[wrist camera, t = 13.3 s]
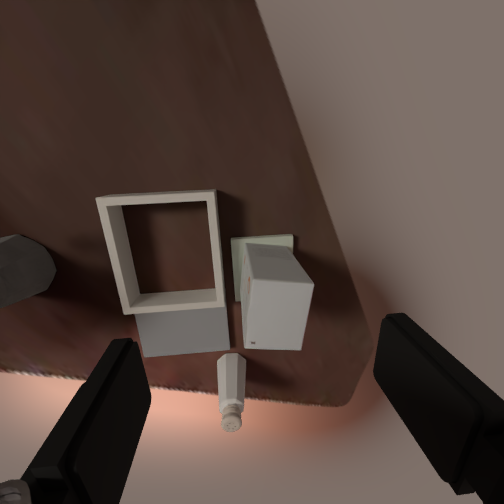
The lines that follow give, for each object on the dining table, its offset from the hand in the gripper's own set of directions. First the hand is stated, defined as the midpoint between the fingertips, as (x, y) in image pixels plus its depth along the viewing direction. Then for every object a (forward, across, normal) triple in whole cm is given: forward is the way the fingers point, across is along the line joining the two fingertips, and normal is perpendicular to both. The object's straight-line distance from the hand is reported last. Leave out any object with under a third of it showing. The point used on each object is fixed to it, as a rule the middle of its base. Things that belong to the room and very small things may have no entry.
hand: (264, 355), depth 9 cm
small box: (+26, -3, +8) cm, 28 cm away
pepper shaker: (+27, +3, +27) cm, 38 cm away
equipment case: (+27, +10, +10) cm, 31 cm away
